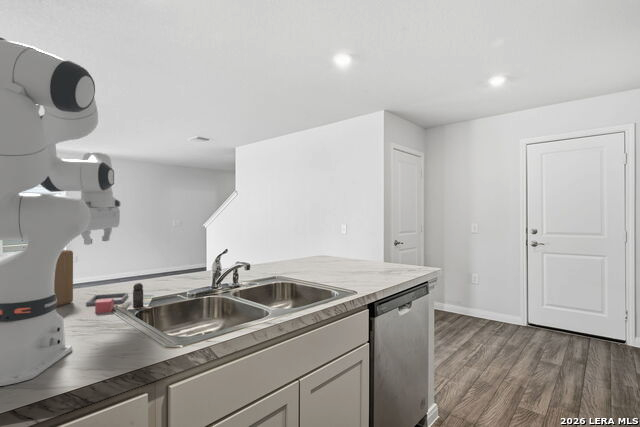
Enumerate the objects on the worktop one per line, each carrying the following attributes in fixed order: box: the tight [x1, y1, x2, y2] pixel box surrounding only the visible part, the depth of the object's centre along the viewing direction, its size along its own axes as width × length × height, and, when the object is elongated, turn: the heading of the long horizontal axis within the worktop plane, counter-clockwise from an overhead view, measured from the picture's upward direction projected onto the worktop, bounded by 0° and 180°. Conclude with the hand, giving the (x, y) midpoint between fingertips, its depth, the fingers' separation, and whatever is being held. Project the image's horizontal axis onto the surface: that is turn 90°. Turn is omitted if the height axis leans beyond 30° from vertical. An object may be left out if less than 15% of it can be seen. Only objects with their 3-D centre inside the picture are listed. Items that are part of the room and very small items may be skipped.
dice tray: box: [85, 292, 129, 307], centre depth 125 cm, size 11×11×2 cm
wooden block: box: [54, 249, 74, 308], centre depth 121 cm, size 10×10×20 cm
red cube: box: [94, 297, 115, 314], centre depth 113 cm, size 4×4×4 cm
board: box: [126, 293, 155, 310], centre depth 125 cm, size 20×7×1 cm, turn 20°
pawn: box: [132, 282, 144, 309], centre depth 117 cm, size 3×3×8 cm
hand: (97, 242), depth 112 cm, fingers open, 8 cm apart
